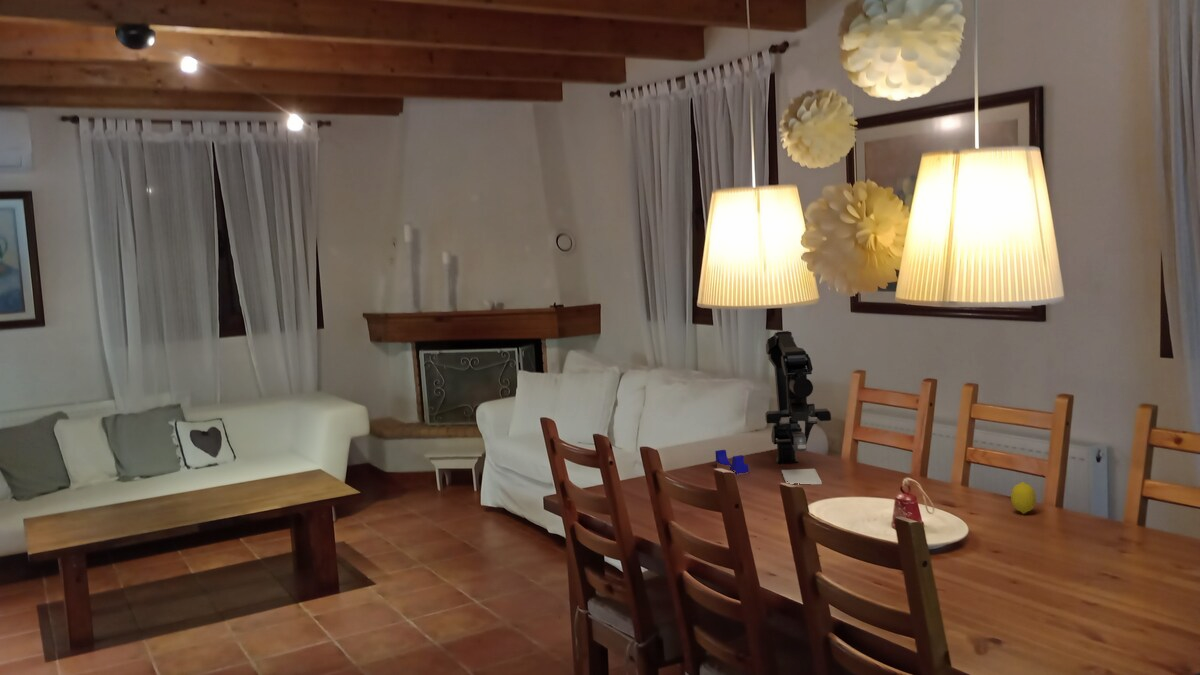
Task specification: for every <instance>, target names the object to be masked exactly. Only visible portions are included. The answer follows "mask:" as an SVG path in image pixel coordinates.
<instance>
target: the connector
mask: <svg viewBox="0 0 1200 675" xmlns="http://www.w3.org/2000/svg"><path fill="white" fill-rule="evenodd" d="M792 436H793V445H792V447H793V449H794V450H795V452H805V451H807V444H806V436H805V432H804V431H802V432H792Z"/></svg>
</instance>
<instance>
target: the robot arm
mask: <svg viewBox="0 0 1200 675" xmlns="http://www.w3.org/2000/svg"><path fill="white" fill-rule="evenodd" d="M765 343H766V344H765V351H766V355H768V361H769V363H771V365H772V366H773V368H774V376H775V377H774V378H775V380H774V381H775V391H776V399H777V400H776V403H777V405H776V406H777V410H768V411H766V412H765V422H766V424H773V425H772V429H771V443H773V445H776V447H777V450H776V451H777V452H776V453H777V457H776V458H775V460H776V463H777V464H797V463H799V460H798V458H797V454H796V451H795V450H794V449H793V447H792V445H793V436H792V432H803V430H802V428H801V425H800V423H799V422H804V434H805V436H806V445H808V444H807V443H808V440H809V437H810V435H811V431H812V428H813V427H814V425H817V424H818V421H817V420H819V421H820V422H829V421H832V414H831V411H830V410H829V409H828V408H816V407H815V403H808V400H807V398H809V397H810V396H811V394H812V393H813V391H814V385H813V382H812V381H811V380H810V379H808V375H812V373H813V372H812V371H813V370H814V368H813V364H812V360H811V357H810V355H809V354H808V353H807V352H806V350H805V349H804V348H802V347H799V346H797V344H796V342H795V339H794V337H793V334H792V331H789V330H785V331H783V330H782V331H776V332H774V334H773V335H772V336H771V337H769V338H767V340H766V342H765Z"/></svg>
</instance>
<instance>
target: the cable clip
mask: <svg viewBox="0 0 1200 675" xmlns="http://www.w3.org/2000/svg"><path fill="white" fill-rule="evenodd" d="M714 454H715V463H716V462H718V463H720V464H724V465H730V466H731V467H730V470H732V471H733V470H735V471H736V472H735V474H736V475H737V473H738V474H739V473H746V472H749V470H750V469H749V464H748V463H745V460H744V459H745V458H744V455H741V454H740V455H739V454H738V455H733V456H732V461H731V462H732V463H730V461H729V458H728V456H727V450H726V449H719V450H715V452H714ZM733 472H734V471H733ZM749 473H750V472H749Z"/></svg>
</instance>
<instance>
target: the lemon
mask: <svg viewBox="0 0 1200 675" xmlns="http://www.w3.org/2000/svg"><path fill="white" fill-rule="evenodd" d="M1036 500H1037V498H1036V493H1035V490H1034V488H1033V487H1032V486H1031V485H1030V484H1028V483H1025V481H1021V482H1020V483H1017V484H1016V485H1014V487H1013V488H1012V491H1011V494H1010V501H1011V504H1012V506H1013V508H1014V509H1016V510H1017V511H1019V512H1020V513H1021V514H1022V515H1025V514H1027V513H1028V512H1030V511H1032V510H1033V509H1034V507H1035V506H1036V504H1037V503H1036V502H1037V501H1036Z"/></svg>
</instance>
